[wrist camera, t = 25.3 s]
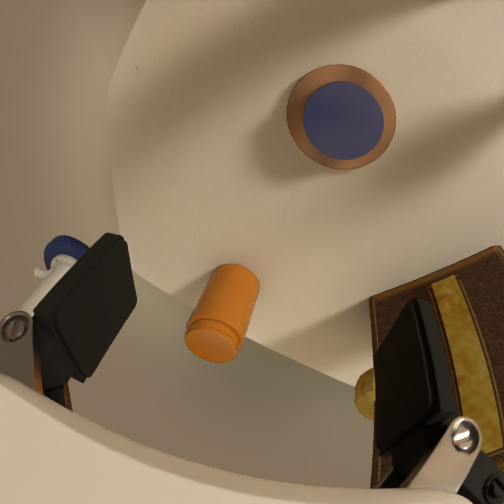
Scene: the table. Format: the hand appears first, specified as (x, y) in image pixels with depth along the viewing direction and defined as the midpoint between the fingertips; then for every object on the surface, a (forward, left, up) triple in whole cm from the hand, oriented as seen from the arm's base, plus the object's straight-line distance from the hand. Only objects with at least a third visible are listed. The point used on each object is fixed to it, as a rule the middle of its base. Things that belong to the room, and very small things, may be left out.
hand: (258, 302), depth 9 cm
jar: (-5, -19, -21) cm, 29 cm away
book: (+20, -14, -22) cm, 33 cm away
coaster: (+3, +3, -21) cm, 22 cm away
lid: (+3, +3, -19) cm, 20 cm away
